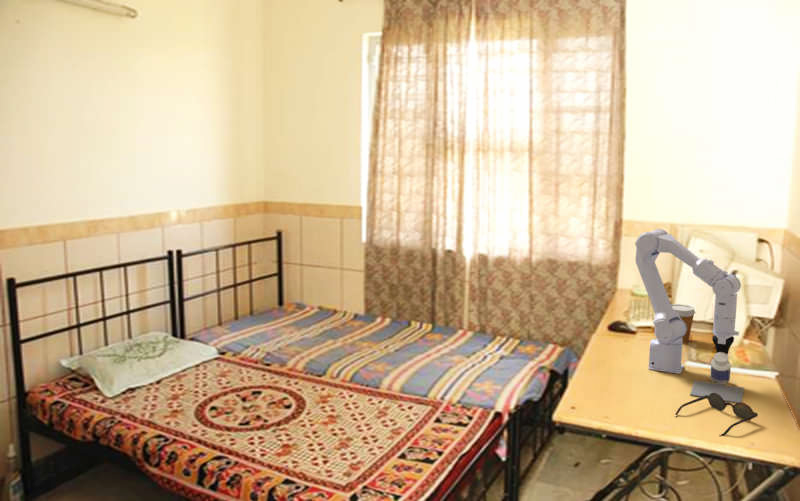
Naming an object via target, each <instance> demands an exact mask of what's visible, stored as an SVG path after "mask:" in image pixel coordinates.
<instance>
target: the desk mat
mask: <svg viewBox="0 0 800 501" xmlns="http://www.w3.org/2000/svg"><path fill="white" fill-rule="evenodd" d="M744 390H745V387H740V386H735V385H729V384H716V383H714V382H709V381H703V380H696V379H695V380H694V382H693V385H692V388H691V390H690V394H689V396H691V397H697V398H700V397H703V396H705V395H708V396H709V395H710V394H711V393H717V394H719V395H720V396H721V397H722V398H723V400H724V401H725V402H729V403H731V404H736V403H738V402H742V403H743V397H744Z"/></svg>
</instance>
